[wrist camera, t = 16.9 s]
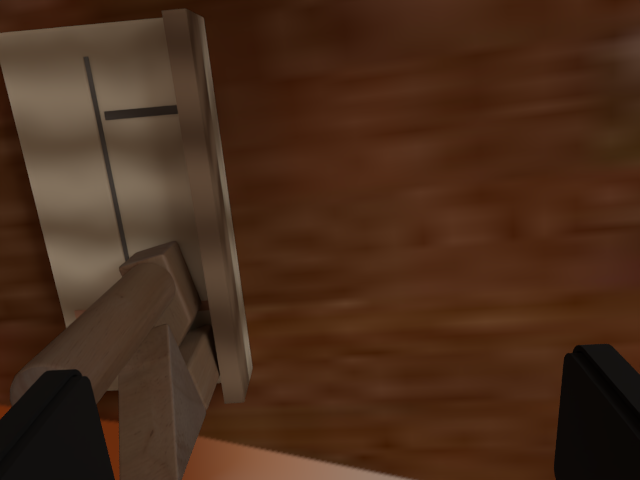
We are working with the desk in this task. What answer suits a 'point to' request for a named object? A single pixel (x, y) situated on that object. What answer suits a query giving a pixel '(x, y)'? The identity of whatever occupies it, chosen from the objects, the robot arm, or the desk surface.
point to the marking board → (129, 163)
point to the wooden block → (142, 361)
